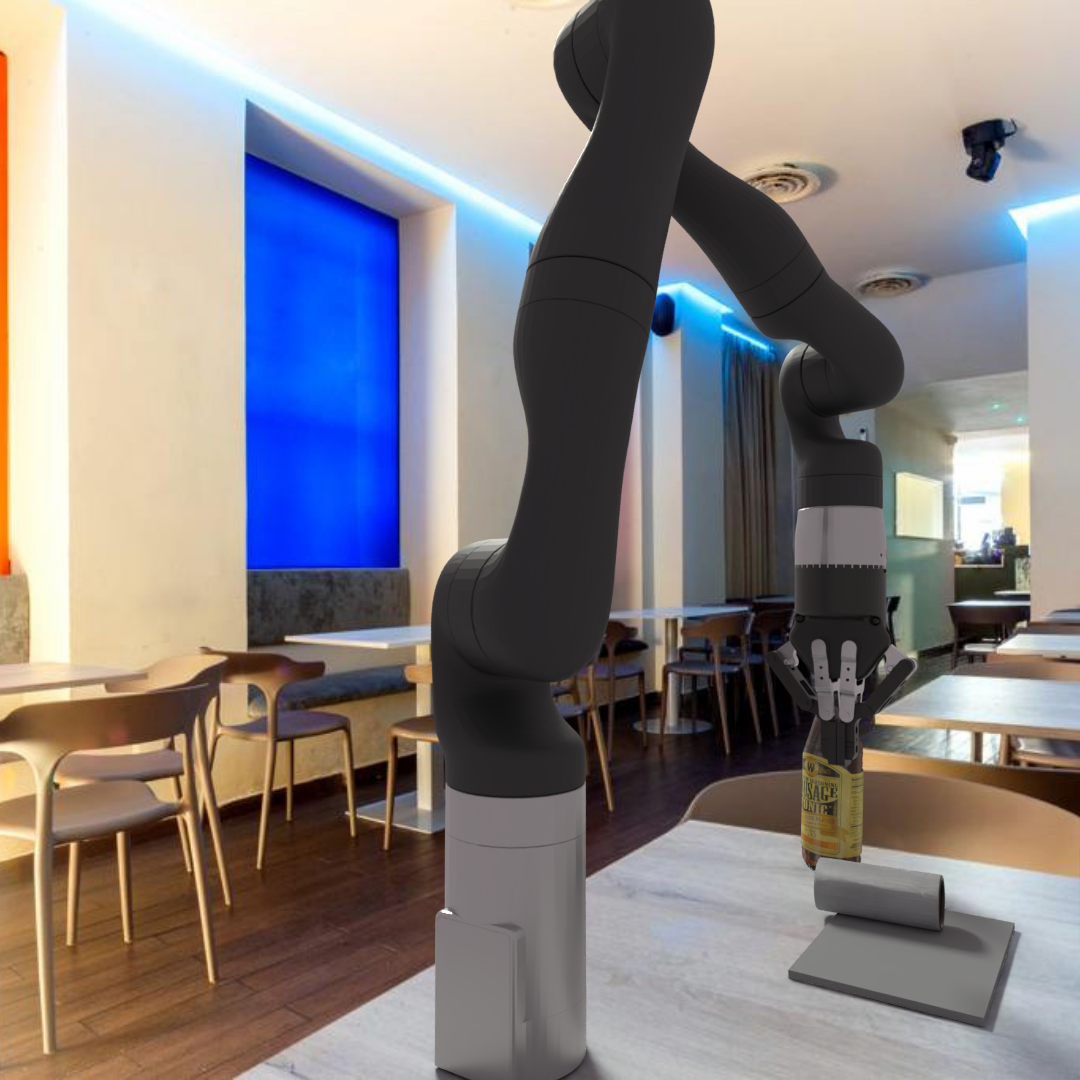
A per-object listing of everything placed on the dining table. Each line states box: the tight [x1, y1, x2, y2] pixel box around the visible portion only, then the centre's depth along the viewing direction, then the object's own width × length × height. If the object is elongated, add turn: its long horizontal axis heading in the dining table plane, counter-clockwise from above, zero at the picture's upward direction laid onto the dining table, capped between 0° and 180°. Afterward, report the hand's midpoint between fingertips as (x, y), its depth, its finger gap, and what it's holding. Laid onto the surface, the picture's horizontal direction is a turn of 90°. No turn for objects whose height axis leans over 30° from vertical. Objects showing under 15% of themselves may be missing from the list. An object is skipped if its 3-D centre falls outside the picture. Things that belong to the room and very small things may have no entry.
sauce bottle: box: [800, 686, 864, 868], centre depth 95 cm, size 7×6×20 cm
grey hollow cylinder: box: [813, 857, 946, 931], centre depth 78 cm, size 4×4×10 cm
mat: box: [787, 909, 1015, 1028], centre depth 73 cm, size 20×14×1 cm
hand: (840, 764), depth 76 cm, fingers closed
